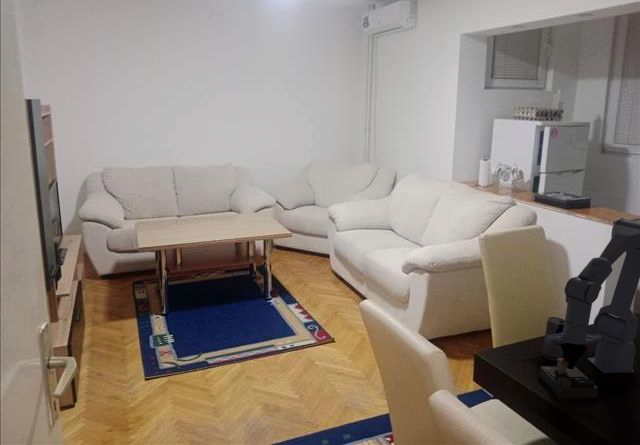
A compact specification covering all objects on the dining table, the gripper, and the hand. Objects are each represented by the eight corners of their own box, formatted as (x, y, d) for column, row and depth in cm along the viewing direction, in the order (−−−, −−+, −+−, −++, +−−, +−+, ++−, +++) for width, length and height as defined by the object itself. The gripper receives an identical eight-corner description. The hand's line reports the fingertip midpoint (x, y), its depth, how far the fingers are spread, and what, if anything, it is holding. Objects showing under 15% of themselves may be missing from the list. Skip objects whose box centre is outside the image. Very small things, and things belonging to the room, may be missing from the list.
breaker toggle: (562, 370, 139) (564, 357, 138) (567, 375, 137) (569, 363, 136) (553, 370, 139) (555, 358, 138) (559, 375, 136) (561, 363, 136)
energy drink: (563, 362, 151) (569, 325, 148) (544, 360, 152) (549, 323, 149) (558, 353, 156) (564, 317, 153) (540, 351, 157) (545, 315, 154)
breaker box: (572, 375, 144) (575, 360, 143) (596, 397, 133) (599, 381, 132) (539, 375, 143) (541, 360, 142) (559, 398, 132) (562, 382, 131)
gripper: (593, 315, 139) (585, 359, 142) (543, 315, 138) (536, 360, 141) (609, 326, 132) (601, 372, 135) (556, 327, 131) (549, 373, 134)
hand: (569, 367), depth 138 cm, fingers closed
